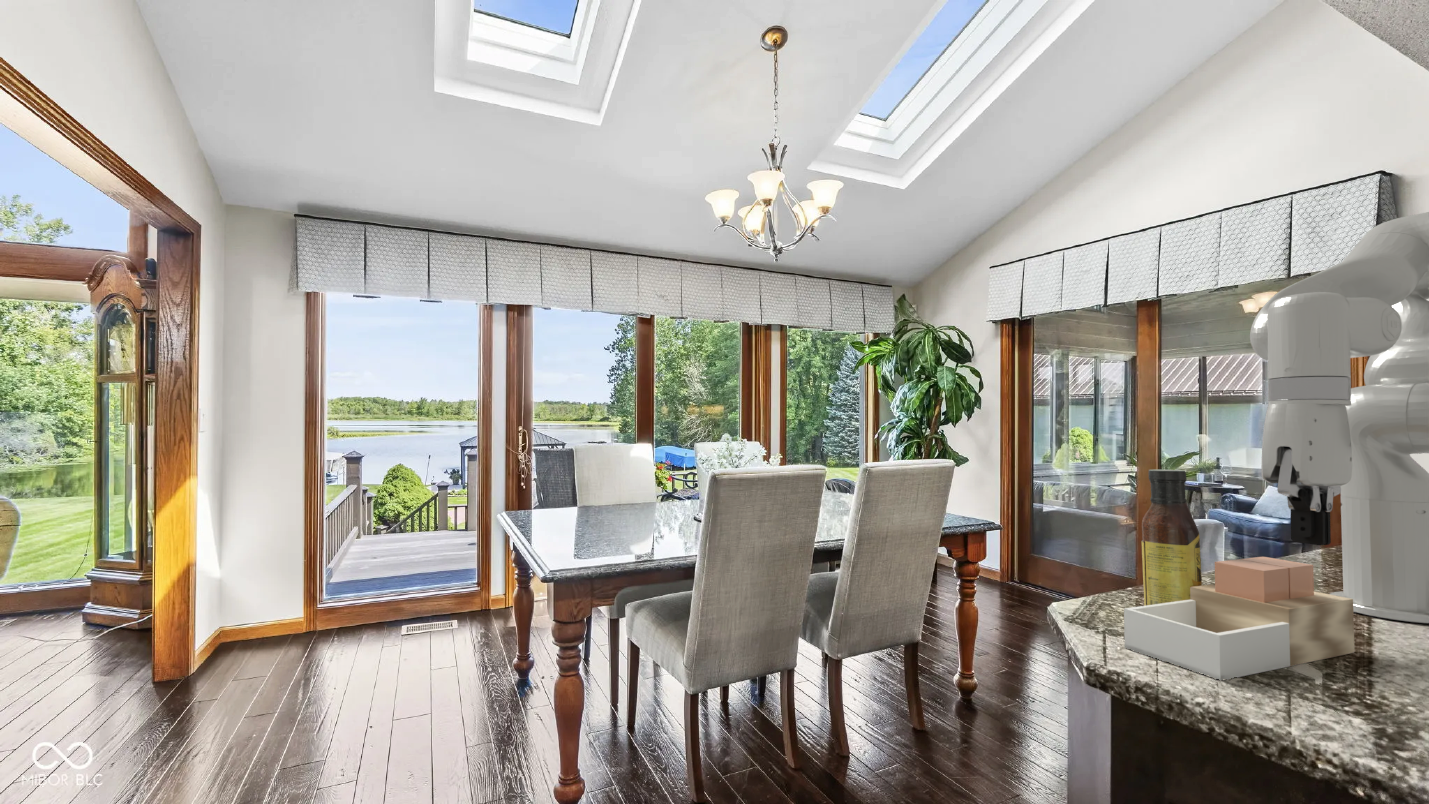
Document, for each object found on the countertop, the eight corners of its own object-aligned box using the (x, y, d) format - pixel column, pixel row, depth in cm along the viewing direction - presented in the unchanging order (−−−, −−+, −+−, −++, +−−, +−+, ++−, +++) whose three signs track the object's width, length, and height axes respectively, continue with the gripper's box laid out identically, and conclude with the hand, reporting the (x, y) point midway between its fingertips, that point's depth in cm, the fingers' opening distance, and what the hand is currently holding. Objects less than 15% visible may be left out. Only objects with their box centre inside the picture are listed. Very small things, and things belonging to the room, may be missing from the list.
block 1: (1239, 588, 77) (1238, 559, 77) (1289, 599, 72) (1288, 567, 72) (1215, 591, 75) (1214, 561, 76) (1264, 602, 71) (1263, 570, 71)
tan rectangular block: (1253, 626, 82) (1252, 579, 82) (1354, 652, 72) (1353, 599, 73) (1191, 636, 77) (1190, 587, 78) (1290, 666, 68) (1288, 609, 68)
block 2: (1264, 585, 79) (1263, 556, 79) (1314, 595, 74) (1313, 564, 74) (1240, 588, 77) (1240, 559, 77) (1290, 598, 72) (1289, 567, 73)
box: (1191, 636, 77) (1190, 599, 77) (1290, 666, 68) (1289, 623, 68) (1124, 648, 73) (1123, 608, 73) (1220, 680, 64) (1219, 635, 64)
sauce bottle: (1214, 632, 79) (1210, 472, 80) (1157, 629, 80) (1154, 471, 81) (1186, 617, 85) (1183, 468, 86) (1134, 614, 87) (1131, 467, 87)
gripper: (1307, 398, 85) (1309, 536, 84) (1235, 392, 80) (1237, 540, 79) (1382, 395, 78) (1385, 546, 77) (1309, 389, 73) (1311, 551, 72)
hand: (1310, 543), depth 78 cm, fingers closed
